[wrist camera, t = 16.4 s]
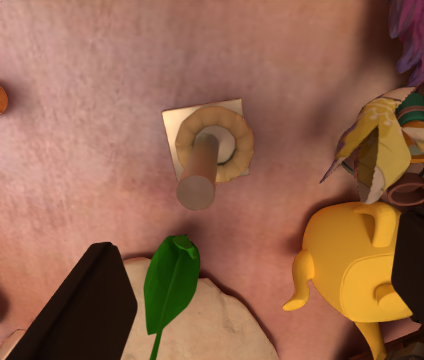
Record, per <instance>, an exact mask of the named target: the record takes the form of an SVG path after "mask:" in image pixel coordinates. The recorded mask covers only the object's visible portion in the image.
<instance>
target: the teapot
mask: <svg viewBox="0 0 424 360" xmlns="http://www.w3.org/2000/svg"><path fill="white" fill-rule="evenodd" d="M401 214H402V213H401V212H400V211H399V210H398V209H396V208H395V207H394V206H392V205H390V204H388V203H384V202H380V201H375V202H373V203H372V204H364V203H362V202H360V201H359V202H348V203H342V204H337V205H333V206H329V207H325V208H323V209H321V210H319V211H317V212H316V213H315V214H314V215H313V216H312V218H311V219H310V221H309V223H308V225H307V227H306V230H305V233H304V237H303V243H302V251H301V252H300V253H299V254H298V255H297V256H296V257H295V259H294V262H293V266H292V275H293V281H294V286H295V292H294V295H293V297H292V298H291V299H290V300H289V301H288V302H287V303H285V304H284V306H283V310H285V311H291V310H295V309H298V308H300V307H302V306H304V305H305V304H306V302H307V301H308V299H309V287H308V280H311V281H312V283H313V284H314V286H315V288H316V289H317V290H318V292H319V293H320V294H321V295H322V297H323V298H324V299H325V300H326V301H327V302H328V303H329V304H330V305H331V306H333V307H334V308H335V309H336V310H338V311H339V312H340V313H341V314H343V315H344V316H345V317H347V318H348V319H350V320H352V321H354V323H355V324H356V326H357V327H358V328H359V330H360V331H361V332H362V334H363V335H364V337H365V339H366V340H367V342H368V344H369V346H370V348H371V351H372V354H373V357H374V360H384V359H385V357H386V355H387V353H386V349H385V345H384V342H383V338H382V335H381V331H380V328H379V324H378V322H384V321H392V320H399V319H403V318H407V317H410V316H411V315H413V313H412V312H411V310H410V309H409V308H408V307H407V305H406V304H405V303H404V302H403V300H402V299H401V298H400V296H399V295H398V294H397V293H396V291H395V290H394V288H393V286H392V283H391V274H392V267H393V260H394V253H395V246H396V239H397V232H398V225H399V218H400V215H401Z"/></svg>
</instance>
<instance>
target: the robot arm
mask: <svg viewBox="0 0 424 360" xmlns="http://www.w3.org/2000/svg"><path fill="white" fill-rule="evenodd" d="M391 283H392V286H393V288H394V290H395V291H396V293H397V294H398V295H399V296H400V298H401V299H402V300H403V302H404V303H405V304H406V305H407V307H408V308H409V309H410V310H411V312H412V313H413V314H414V315H415V317H416V318H417V319H418V320H419V322H420V323H421V324H422V326H423V327H424V206H419V207H410V208H407V209H406V210H405V212H404V213H402V214H401V215H400V218H399V225H398V232H397V239H396V246H395V253H394V260H393V267H392V274H391ZM137 310H138V303H137V299H136V297H135V294H134V291H133V288H132V286H131V283H130V280H129V277H128V275H127V272H126V269H125V266H124V264H123V261H122V258H121V255H120V253H119V250H118V248H117V246H115V245H113V244H112V243H111V242H102V243H94V244H92V245H91V246H90V247H89V248H88V250H87V251H86V252H85V254H84V255H83V256H82V258H81V259H80V260H79V262H78V263H77V264H76V266H75V267H74V268H73V270H72V271H71V272H70V274H69V275H68V276H67V278H66V279H65V280H64V282H63V283H62V284H61V285H60V287H59V288H58V289H57V291H56V292H55V293H54V295H53V296H52V297H51V299H50V300H49V301H48V303H47V304H46V305H45V307H44V308H43V309H42V311H41V312H40V313H39V315H38V316H37V317H36V319H35V320H34V321H33V323H32V324H31V325H30V327H29V328H28V329H27V331H26V332H25V333H24V335H23V336H22V337H21V339H20V340H19V341H18V343H17V344H16V345H15V347H14V348H13V349H12V351H11V352H10V353H9V355H8V356H7V357H6V359H5V360H121V357H122V354H123V351H124V348H125V345H126V343H127V340H128V337H129V334H130V331H131V328H132V325H133V323H134V320H135V317H136V314H137Z"/></svg>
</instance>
